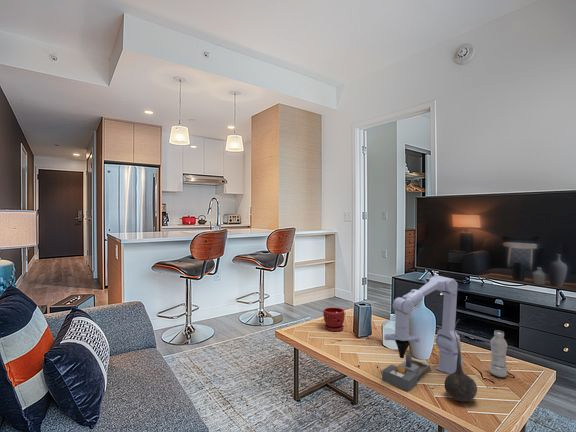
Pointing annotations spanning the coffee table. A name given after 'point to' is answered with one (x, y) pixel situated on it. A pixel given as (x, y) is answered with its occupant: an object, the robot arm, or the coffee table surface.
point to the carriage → (408, 364)
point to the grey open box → (399, 378)
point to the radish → (460, 382)
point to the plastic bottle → (498, 354)
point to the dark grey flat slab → (421, 369)
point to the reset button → (401, 369)
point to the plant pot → (334, 319)
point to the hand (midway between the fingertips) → (401, 357)
